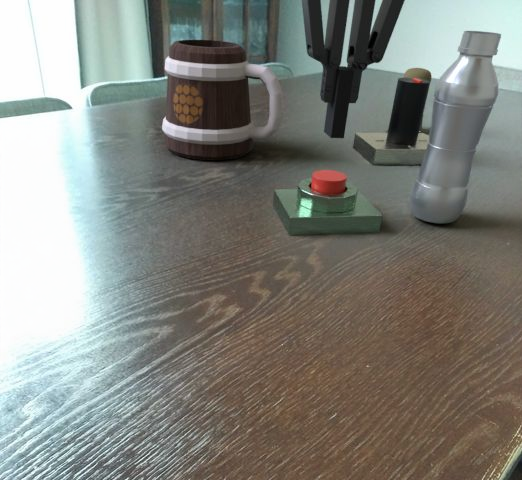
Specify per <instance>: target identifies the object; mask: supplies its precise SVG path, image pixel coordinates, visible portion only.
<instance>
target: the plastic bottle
mask: <svg viewBox="0 0 522 480" xmlns="http://www.w3.org/2000/svg"><path fill="white" fill-rule="evenodd" d="M501 38H502V33H499V32H492V31H491V32H490V31H481V30H464V31H463V33H462V36H461V40H460V44H459V45H458V47H457V49H456V50H457V52H459V55H458V57H457V58H456V60H454V62H453V63H452V64H451V65H450V66H449V67H448V68H447V69H446V70H445V71H444V72H443V73H442V75H441V76H440V77H439V79H438V81H437V83H436V85H435V87H434V92H433V101H432V102H433V103H432V113H431V122H430V128H429V134H428V136H429V141H428V144H427V149H426V153H425V156H424V159H423V162H422V165H420V169H419V172H418V175H417V177H416V179H415V180H414V181H415V182H414V184H413V186H412V189H411V191H410V195H409V209H410V212H411V214H412V215H413V216H414V217H415V218H417V219H419V220H421V221H423V222H428V223H431V224H432V223H433V224H450V223H454V222H455V221H456V220H458V218H459V217H461V216H462V213H463V211H464V209H465V207H466V205H467V199H468V194H469V182H470V177H471V171H472V167H473V162H474V157H475V155H476V151H477V149H478V148H477V147H478V145H479V142H480V139H481V136H482V134H483V132H484V128H485V126H486V125H487V121H488V119H489V117H490V115H491V112H492V110H493V109H494V105H495V103H496V101H497V98H498V96H499V80H498V76H497V72H496V70H495V68H494V64H493V57H494V56H497V55H498V51H499V49H498V48H499V45H500V41H501Z"/></svg>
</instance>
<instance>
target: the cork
mask: <svg viewBox="0 0 522 480" xmlns="http://www.w3.org/2000/svg"><path fill="white" fill-rule="evenodd" d="M404 77H407V78H419V79H425V80H428V81H430V84H431V82H432V72H431V71H430V70H429V69H426V68H422V67H412V68H408V69H407V70H406V71H405V72H404V74H403V76H402V78H404ZM423 119H424V115H423V116H422V121H421V125H420V129H419V131H421V132H419V133H422V129H423V122H424V121H423Z"/></svg>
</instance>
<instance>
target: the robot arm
mask: <svg viewBox="0 0 522 480" xmlns="http://www.w3.org/2000/svg"><path fill="white" fill-rule="evenodd" d="M321 1H322V0H301V7H302V16H303V17H302V18H303V27H304V28H303V29H304V36H305V38H304V39H305V46H306V53H307V55H308V57H310V58H311V59H313V60H315V61H317V62H319V63H320V64H321V65H322V75H321V84H320V92H319V95H320V96H319V97H320V100H321V101H322V102H324V103H327V104H326V111H325V120H324V128H323V133H325V135H327V136H328V137H329V138H330V139H345V134H346V127H347V121H348V120H347V119H348V114H349V106H350V104H356V103H357V102H358V99H359V96H360V95H359V94H360V88H361V83H362V76H363V72H364V71H365V70H366V69H367V68H368V66H370V65H373V64H378V63H381V62H382V61H383V59H384V56H385V53H386V51H387V48H388V45H389V43H390V41H391V38H392V35H393V33H394V30H395V27H396V25H397V22H398V19H399V17H400V14H401V12H402V9H403V7H404V4H405V1H406V0H382V1H381V3H380V6H379V8H378V11H377V14H376V17H375V19H374V23H373V17H374V14H375V13H374V12H375V7H376V0H354V3H353V11H352V18H351V24H350V26H351V27H350V33H349V39H348V46H347V53H346V63H347V64H346V65H347V66H342V65H341V63H342V60H343V59H342V58H343V51H344V44H345V36H346V29H347V22H348V16H349V8H350V0H329V2H328V10H327V11H328V12H327V20H326V28H325V35H324V24H323V12H322V11H323V10H322V2H321ZM372 24H373V26H372ZM324 36H325V37H324Z"/></svg>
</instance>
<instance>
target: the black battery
mask: <svg viewBox="0 0 522 480" xmlns="http://www.w3.org/2000/svg"><path fill="white" fill-rule="evenodd" d="M430 85H431V83H430V81H428V80H425V79H419V78H407V77H404V78H403V77H398V79H397V83H396V87H395V93H394V98H393V103H392V108H391V113H390V118H389V124H388V129H387V132H386V133H387V140H388V141H391V142H394V143H398V144H414V143H416V142H417V138H418V134H419V129H420V125H421V121H422V116H423V117H424V112H425V107H426V103H427V99H428V94H429V90H430ZM422 122H423V121H422Z"/></svg>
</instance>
